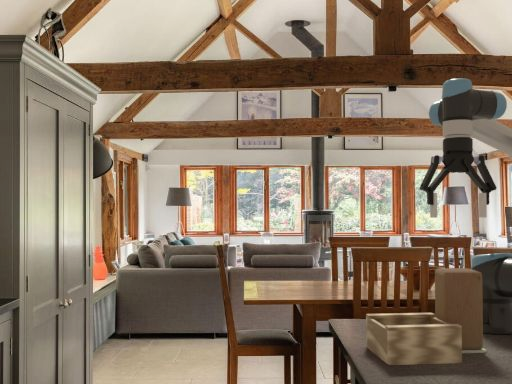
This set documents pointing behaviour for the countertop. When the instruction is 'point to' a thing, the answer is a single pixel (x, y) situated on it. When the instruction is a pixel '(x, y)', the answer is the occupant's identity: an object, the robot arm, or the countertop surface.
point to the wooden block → (461, 302)
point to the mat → (474, 350)
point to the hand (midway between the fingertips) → (458, 217)
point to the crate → (413, 339)
